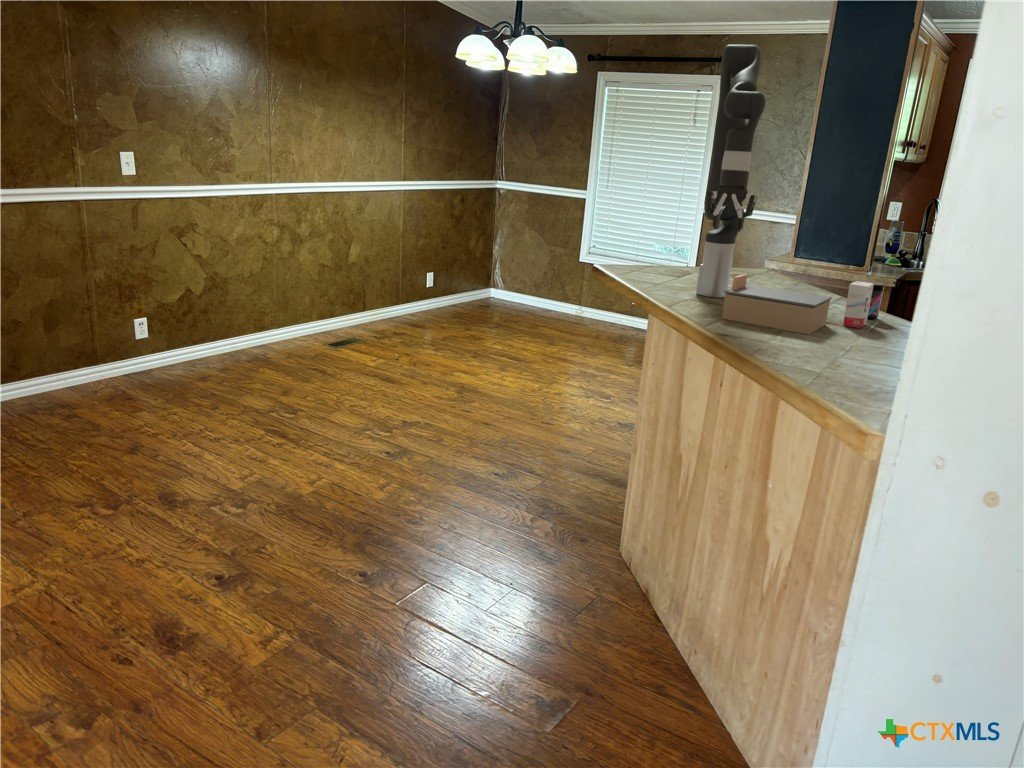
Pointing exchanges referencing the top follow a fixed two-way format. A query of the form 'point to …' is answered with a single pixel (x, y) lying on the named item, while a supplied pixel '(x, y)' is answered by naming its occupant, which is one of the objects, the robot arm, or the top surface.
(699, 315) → the top surface
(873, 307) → the supplement container
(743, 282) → the mailer lid
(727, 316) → the box
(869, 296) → the ink box
